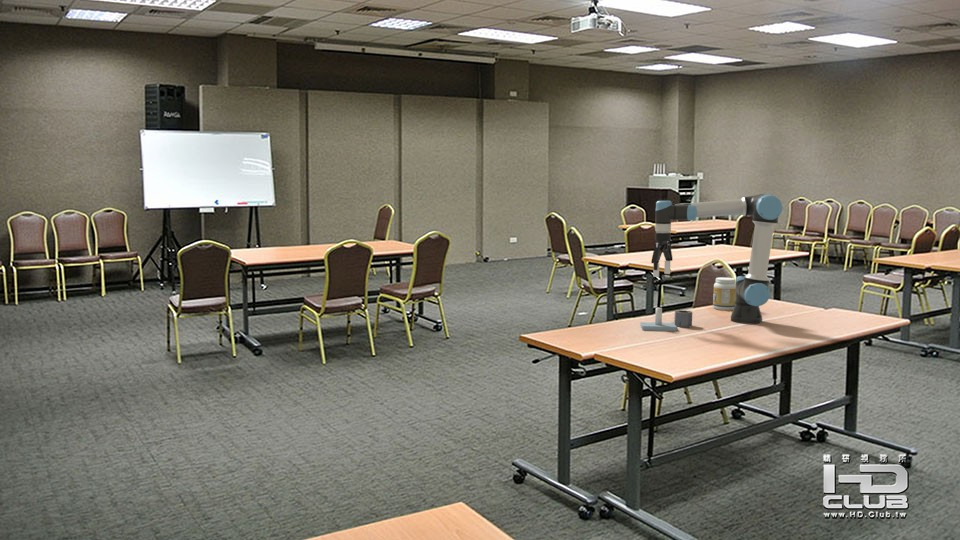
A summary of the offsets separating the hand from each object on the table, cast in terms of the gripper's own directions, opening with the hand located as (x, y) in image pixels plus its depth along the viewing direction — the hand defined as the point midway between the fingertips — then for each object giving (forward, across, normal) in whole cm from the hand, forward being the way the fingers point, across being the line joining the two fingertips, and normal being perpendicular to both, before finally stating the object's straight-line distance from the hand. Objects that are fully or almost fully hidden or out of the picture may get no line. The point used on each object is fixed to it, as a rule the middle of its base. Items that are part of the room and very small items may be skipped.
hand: (661, 275), depth 392 cm
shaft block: (+24, +11, +4) cm, 27 cm away
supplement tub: (+25, -64, +10) cm, 69 cm away
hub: (+24, -3, +10) cm, 27 cm away
